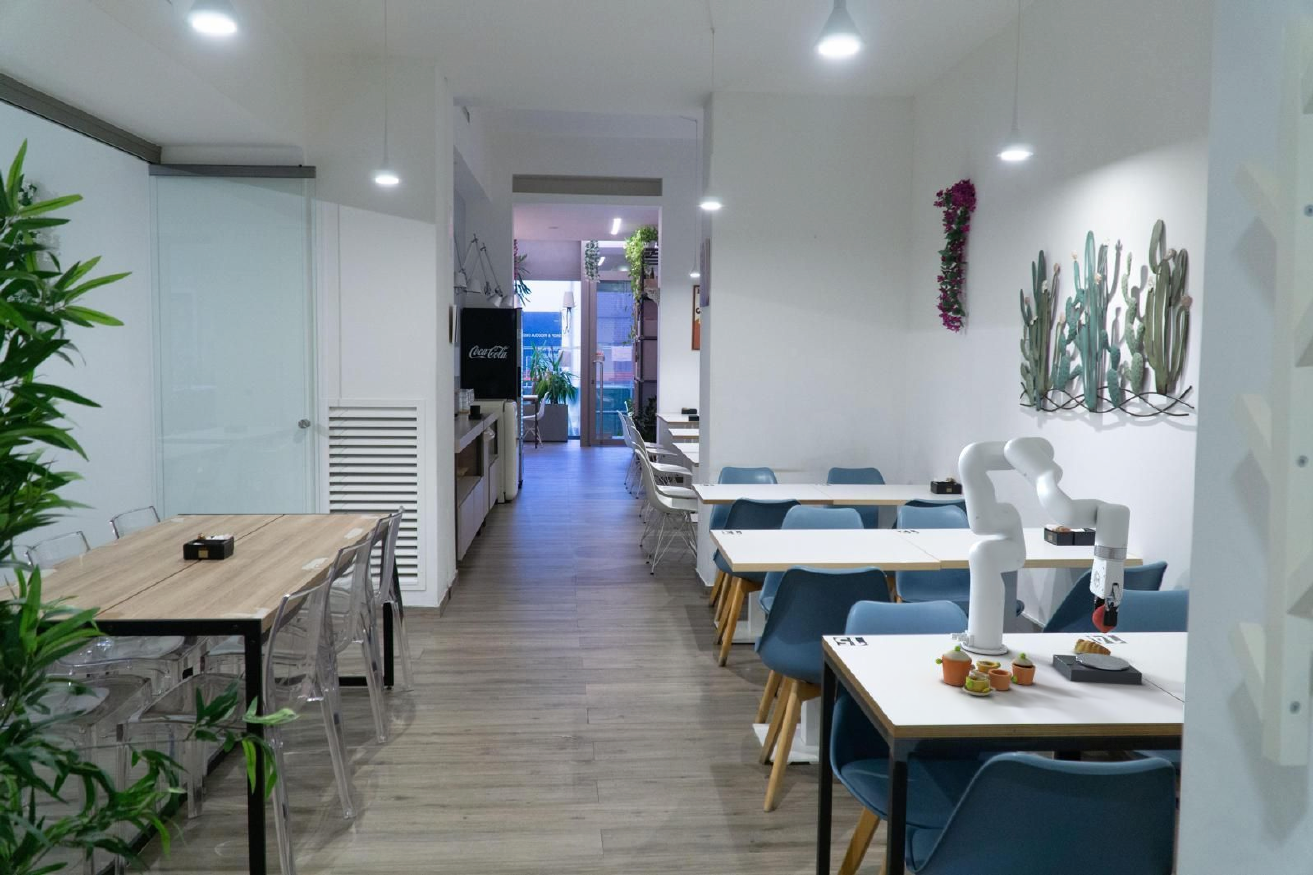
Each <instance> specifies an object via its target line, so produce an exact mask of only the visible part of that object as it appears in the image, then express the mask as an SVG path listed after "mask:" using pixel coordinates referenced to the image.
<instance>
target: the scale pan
mask: <svg viewBox="0 0 1313 875" xmlns="http://www.w3.org/2000/svg"><path fill="white" fill-rule="evenodd" d="M1075 656H1076V660H1077V661H1078V662H1079V663H1081V664H1084V665H1087V666H1090V667H1095V668H1100V669H1108V670H1123V669H1127V668H1129V664H1130V663H1129V662H1128V661H1127V660H1126V659H1123V658H1121V657H1117V656H1113V655H1110V656H1109V655H1103V654H1093V653H1086V654H1082V653H1080V654H1079V653H1078V655H1075Z"/></svg>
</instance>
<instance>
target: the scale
mask: <svg viewBox="0 0 1313 875" xmlns="http://www.w3.org/2000/svg"><path fill="white" fill-rule="evenodd" d="M1076 656H1077V655H1073V654H1053V655H1052V666H1053V667H1054V668H1055V669H1056V670H1057V671H1059V672H1060V673H1061V674H1062V675H1063V676H1064V677H1066V679H1068V680H1069V681H1070V682H1082V683H1083V682H1087V683H1106V684H1124V685H1125V684H1126V685H1142V682H1143V681H1142V680H1143V673H1142V671H1140V670H1138V669H1137V668H1135V667H1134V666H1133V665H1131V664H1130V663H1129V668H1127V669H1123V670H1108V669H1100V668H1095V667H1090V666H1087V665H1084V664H1081V663H1079V662H1078V661H1077V660H1076Z"/></svg>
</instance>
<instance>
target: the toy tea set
mask: <svg viewBox="0 0 1313 875" xmlns="http://www.w3.org/2000/svg"><path fill="white" fill-rule="evenodd" d="M961 648H962V647H961V645H955V646H954V648H953V649H951V650H948V651H947V652H945V653H943V654H942V655H941V658H940V657H939V658H936V659H935V663H936V664H937V665H941V664H942V665H941V666H942V677H943V682H944V683H945V684H948V685H950V686H957V687H962V690H963V691H964V692H965V693H967V694H969V695H971V696H988V695H990V694H991V692H997V691H1008V690H1009V688H1010V685H1011V682H1012V683H1015V684H1018V685H1022V686H1023V685H1024V686H1029V685H1032V684H1033V682H1034V678H1035V673H1036V668H1037V667H1036V665H1034V663H1033V661H1032V660H1030V659H1029V658H1027V654H1026V653H1024V652H1021V653H1020V654H1019V657H1015V658H1013V659H1012V661H1011V662H1012V663H1011V670H1012V672H1011V671H1009V670H1005V669H1002V668H1001V667H1002V664H1001V662H999V661H997V662H996V661H991V660H977V661H976V664H973V658H972V657H971V656H969V654H967V652H965V651H963V650H961ZM975 665H976V666H975ZM976 667H977V669H976ZM1000 668H1001V669H1000ZM970 673H971V674H973V675H970Z"/></svg>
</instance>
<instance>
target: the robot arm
mask: <svg viewBox="0 0 1313 875" xmlns="http://www.w3.org/2000/svg"><path fill="white" fill-rule="evenodd" d="M958 458H959V459H958V463H957V465H958V467H957V468H958V473H959V478H960V481H961V484H962V488H963V494H964V495H963V496H964V502H965V507H966V515H967V521H968V525H969V528H970V529H969V530H970V531H971V532H972V533H973V534H974V535H977V536H995V539H986V540H981V541H978V542H975V543H974V544H973V545H972V546H971V548H970V549H969V551H968V557H967V558H968V567H969V573H970V574H969V575H970V586H969V588H970V589H969V606H968V608H969V610H968V625H967V629H964V632H961V633H957V632H950V640H951V641H957V642H961V648H963V649H964V650H966V651H968V652H972V653H976V654H981V655H993V656H994V655H996V656H997V655H1004V654H1006V653H1007V652H1008V646H1007V645H1006V644H1004V643H1003V634H1004V621H1005V620H1004V619H1005V618H1004V617H1005V601H1006V586H1005V583H1004V579H1003V577H1002V573H1010V572H1017V571H1018V570H1020V569H1022V568H1023V567H1024V566H1025V563H1026V561H1027V549H1026V548H1027V547H1026V541H1025V534H1024V529H1023V522H1022V517H1021V514H1020V513H1019V511H1018V508H1017V507H1016V506H1014V504H1012V503H1010V502H1006V501H998V500H997V497H996V496H997V495H996V490H995V485H994V483H993V481H992V479H991V478H990V476H988V473H987V472H989V471H1015V470H1016V471H1017V473H1019V474H1020V475H1021V476H1022V477H1023V478H1024V479H1025V480H1026V481H1027V482H1028V483H1030V484H1031V485H1032V486H1033V488H1035V489H1036V494H1037V498H1038V501H1039V503H1040V505H1041V507H1042V509H1043V510H1044V511H1045V512H1046V514H1048V515H1049V516H1050V517H1051V518H1052V519H1053V520H1054V521H1055V522H1056V523H1058V525H1060V526H1062V527H1064V528H1065V529H1069V530H1081V529H1095V536H1094V547H1093V548H1094V549H1093V558H1094V559H1093V562H1092V568H1091V576H1090V583H1089V591H1090V592H1091V593H1092V594H1094V599H1093V613H1094V612H1095V611H1096V610H1097V609H1098V608H1099V607H1101V606H1103V605H1104V604H1105V607H1106V610H1104V616H1103V625H1104V626H1112V627H1115V628H1116V627H1117V625H1118V623H1117V618H1118V615H1119V610H1120V609H1119V607H1120V604H1121V603H1122V598H1123V594H1124V578H1125V576H1124V575H1125V566H1124V565H1125V564H1124V562H1126V561H1127V556H1128V544H1129V543H1128V541H1129V529H1130V519H1131V518H1130V517H1131V510H1130V508H1129V507H1128V506H1126V505H1124V504H1119V503H1109V502H1106V501H1103V500H1100V499H1096V498H1082V499H1080V498H1079V499H1078V498H1077V499H1073V498H1071V497H1069V495H1068V494H1067V493H1065V492H1064V491H1063V489H1062V488H1060V486H1059V485H1058V484H1059V483H1060V482H1061V480H1062V478H1063V475H1064V472H1063V471H1064V470H1063V468H1062V467H1061V466H1060V465H1059V464H1058V463H1056V462H1055V460H1054V458H1055V449H1054V446H1053V445H1052V443H1051V442H1050V441H1049V440H1048V439H1046V438H1045V437H1040V436H1018V437H1014V438H1012V439H1010V440H981V441H976V442H975V441H974V442H973V443H970V444H969V445H967V446H966V447H964V449H963V450H962V452H961V453H960V455H959V457H958Z"/></svg>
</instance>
